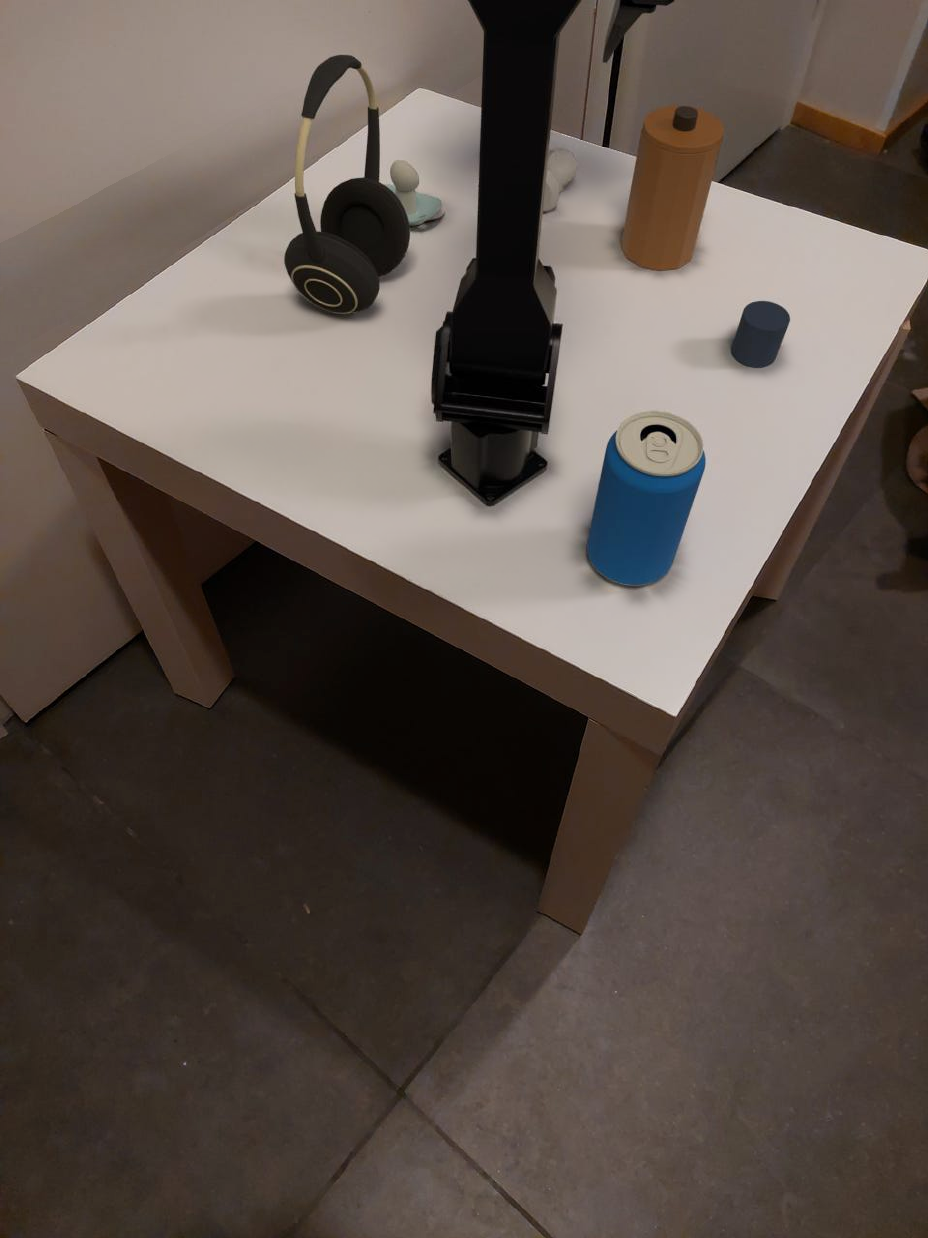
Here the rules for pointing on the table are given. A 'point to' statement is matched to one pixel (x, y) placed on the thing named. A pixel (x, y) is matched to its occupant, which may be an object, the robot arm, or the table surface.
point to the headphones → (345, 216)
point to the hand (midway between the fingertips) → (552, 54)
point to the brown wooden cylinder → (670, 186)
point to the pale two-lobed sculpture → (558, 175)
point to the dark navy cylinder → (760, 333)
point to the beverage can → (645, 497)
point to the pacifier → (413, 194)
